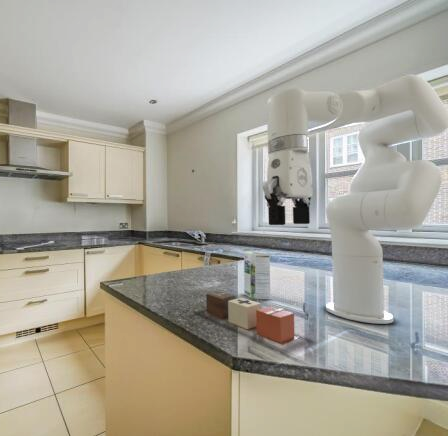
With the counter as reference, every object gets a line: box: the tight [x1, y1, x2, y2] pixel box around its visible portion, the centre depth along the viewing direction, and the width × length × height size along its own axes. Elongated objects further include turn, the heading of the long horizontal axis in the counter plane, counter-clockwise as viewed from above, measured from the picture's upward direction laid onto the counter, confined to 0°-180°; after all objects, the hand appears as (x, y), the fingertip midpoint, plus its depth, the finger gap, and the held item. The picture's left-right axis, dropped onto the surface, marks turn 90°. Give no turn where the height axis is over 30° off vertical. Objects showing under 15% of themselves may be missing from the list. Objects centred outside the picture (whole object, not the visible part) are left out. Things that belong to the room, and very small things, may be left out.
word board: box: [203, 310, 300, 346], centre depth 58 cm, size 9×22×1 cm, turn 28°
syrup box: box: [243, 250, 271, 300], centre depth 80 cm, size 6×6×14 cm
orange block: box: [256, 305, 295, 344], centre depth 52 cm, size 6×5×5 cm
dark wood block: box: [205, 290, 236, 319], centre depth 64 cm, size 5×5×5 cm
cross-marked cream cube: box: [227, 297, 262, 330], centre depth 58 cm, size 5×5×5 cm
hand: (289, 224), depth 55 cm, fingers open, 9 cm apart
